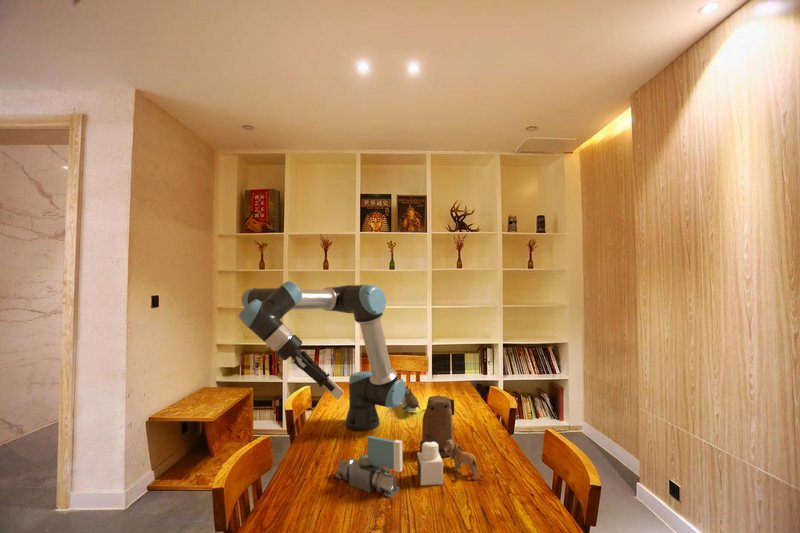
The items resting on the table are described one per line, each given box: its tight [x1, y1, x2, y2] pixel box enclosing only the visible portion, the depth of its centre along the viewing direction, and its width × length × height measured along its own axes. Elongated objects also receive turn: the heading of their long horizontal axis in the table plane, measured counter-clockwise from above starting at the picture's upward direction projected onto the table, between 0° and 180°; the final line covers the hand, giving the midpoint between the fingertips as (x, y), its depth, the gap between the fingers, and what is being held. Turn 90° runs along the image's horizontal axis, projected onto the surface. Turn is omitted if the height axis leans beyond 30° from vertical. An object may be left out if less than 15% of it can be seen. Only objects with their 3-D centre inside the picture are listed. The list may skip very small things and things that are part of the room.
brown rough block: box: [421, 395, 454, 458], centre depth 135 cm, size 11×8×20 cm
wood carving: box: [399, 377, 421, 412], centre depth 187 cm, size 9×35×11 cm, turn 11°
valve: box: [334, 458, 401, 499], centre depth 114 cm, size 22×7×7 cm, turn 57°
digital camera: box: [439, 395, 455, 416], centre depth 179 cm, size 10×5×7 cm, turn 40°
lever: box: [359, 435, 404, 473], centre depth 113 cm, size 14×4×8 cm, turn 63°
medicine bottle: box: [416, 438, 444, 487], centre depth 117 cm, size 7×7×12 cm
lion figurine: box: [444, 439, 485, 481], centre depth 121 cm, size 15×5×9 cm, turn 47°
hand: (340, 395), depth 112 cm, fingers closed
